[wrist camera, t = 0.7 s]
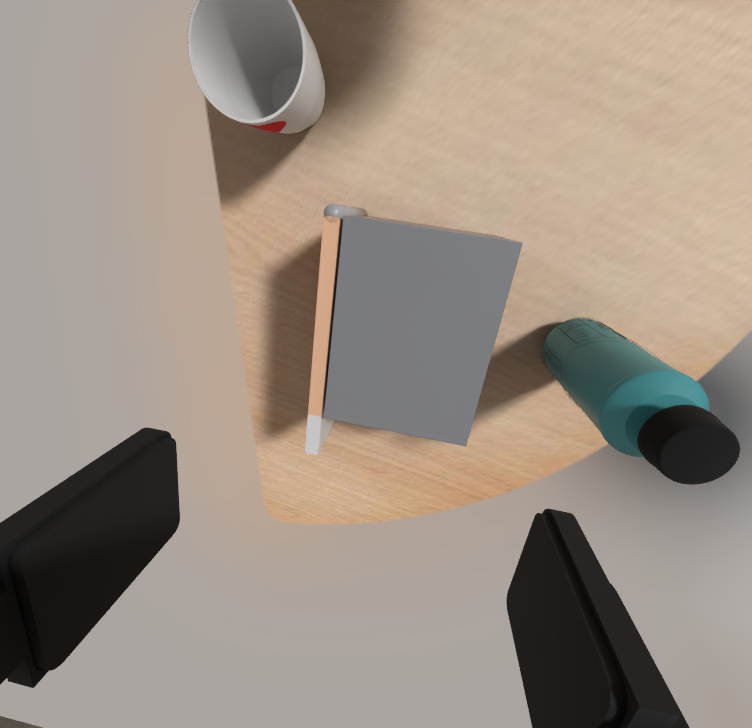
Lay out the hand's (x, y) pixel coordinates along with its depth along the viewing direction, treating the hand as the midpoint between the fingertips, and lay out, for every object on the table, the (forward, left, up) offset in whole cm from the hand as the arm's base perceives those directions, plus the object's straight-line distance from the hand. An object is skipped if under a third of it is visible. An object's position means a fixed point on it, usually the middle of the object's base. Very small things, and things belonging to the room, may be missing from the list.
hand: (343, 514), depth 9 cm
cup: (-16, -13, -31) cm, 37 cm away
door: (+3, -6, -31) cm, 32 cm away
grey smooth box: (+1, +1, -31) cm, 31 cm away
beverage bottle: (+2, +17, -31) cm, 36 cm away
